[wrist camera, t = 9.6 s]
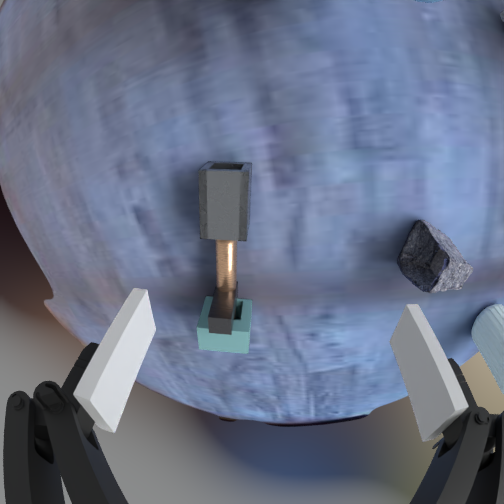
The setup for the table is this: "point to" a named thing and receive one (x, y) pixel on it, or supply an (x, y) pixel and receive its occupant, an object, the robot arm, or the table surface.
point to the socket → (222, 341)
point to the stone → (432, 260)
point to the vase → (491, 340)
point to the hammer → (224, 289)
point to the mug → (502, 15)
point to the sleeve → (225, 200)
